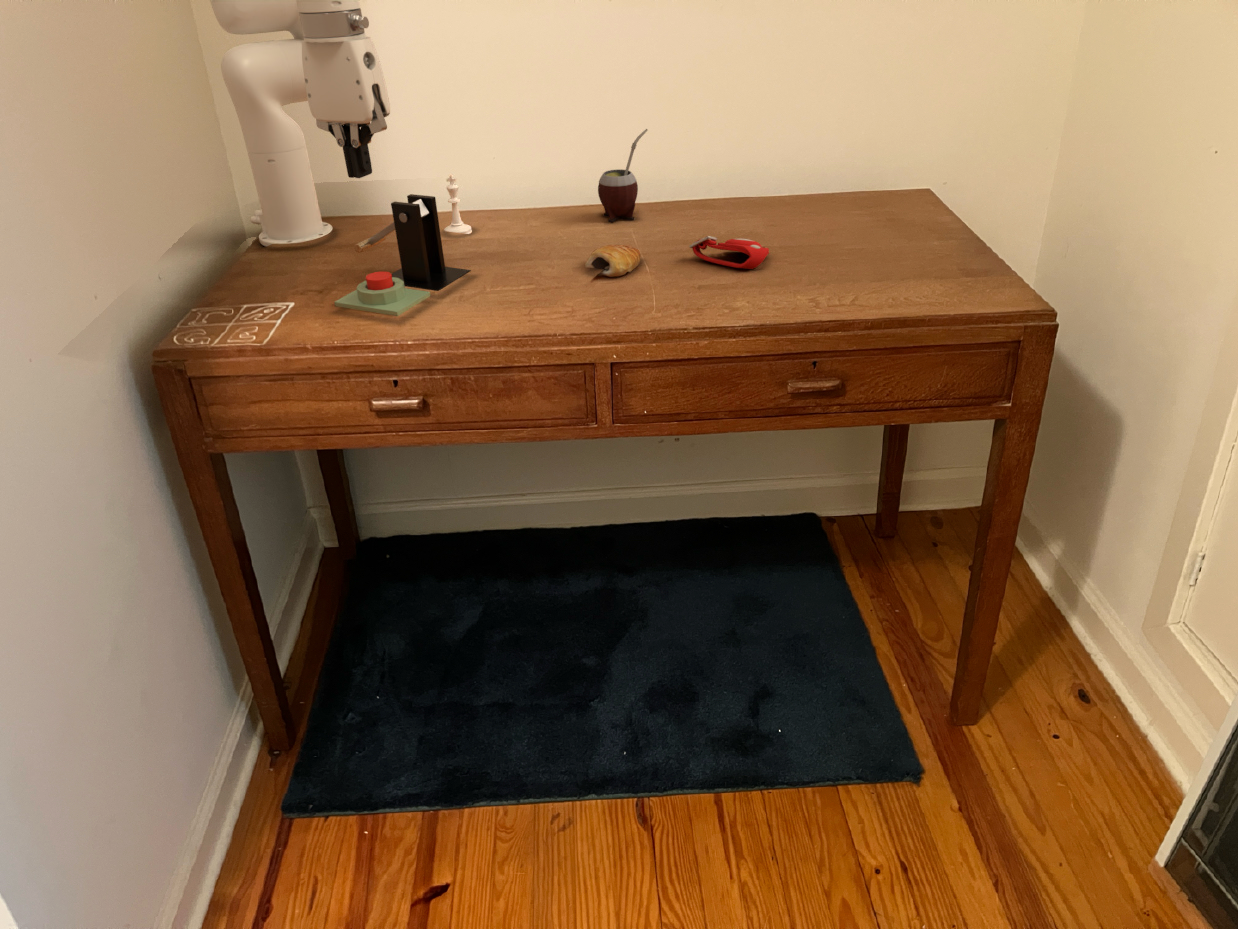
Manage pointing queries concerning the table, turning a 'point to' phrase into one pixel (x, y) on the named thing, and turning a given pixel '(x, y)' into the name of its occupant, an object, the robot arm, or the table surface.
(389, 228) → the lever
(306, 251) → the table surface
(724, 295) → the table surface
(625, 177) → the mate gourd
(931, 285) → the table surface
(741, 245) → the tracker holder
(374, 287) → the button
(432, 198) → the bracket
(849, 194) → the table surface
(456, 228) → the chess piece
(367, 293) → the button box
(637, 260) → the pastry
